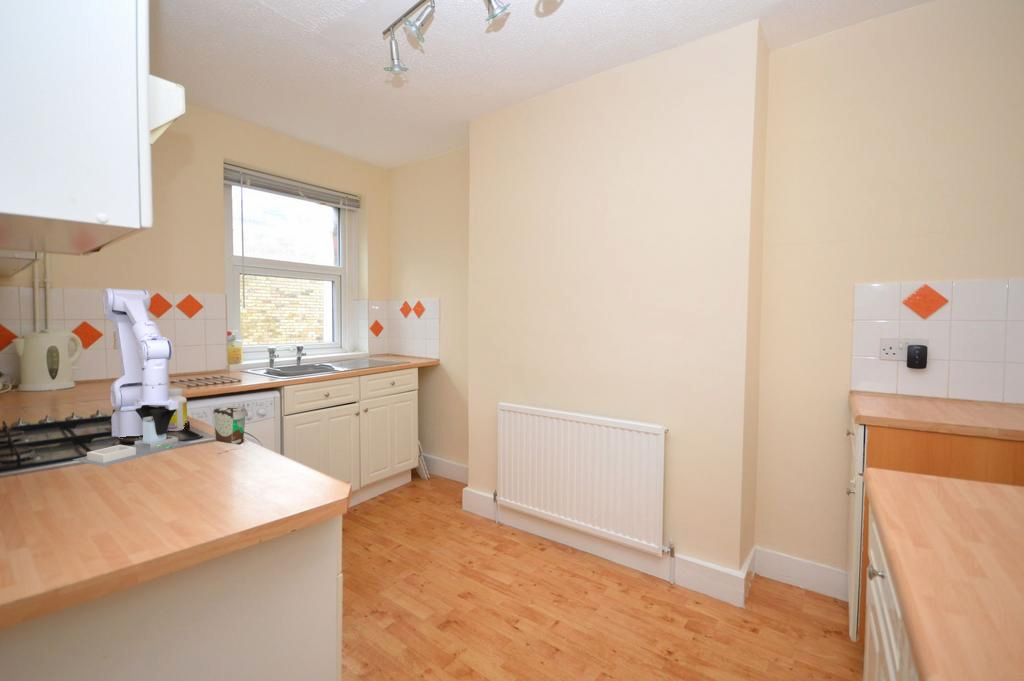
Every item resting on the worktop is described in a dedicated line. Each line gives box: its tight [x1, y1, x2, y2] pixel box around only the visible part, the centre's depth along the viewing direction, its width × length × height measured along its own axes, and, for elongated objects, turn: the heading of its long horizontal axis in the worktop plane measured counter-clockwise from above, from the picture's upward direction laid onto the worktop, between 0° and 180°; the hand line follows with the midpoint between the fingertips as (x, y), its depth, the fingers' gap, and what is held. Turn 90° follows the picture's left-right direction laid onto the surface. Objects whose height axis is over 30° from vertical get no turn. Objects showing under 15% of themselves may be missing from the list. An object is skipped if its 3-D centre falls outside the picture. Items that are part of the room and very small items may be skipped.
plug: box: [142, 416, 167, 443], centre depth 122 cm, size 3×4×8 cm
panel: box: [72, 440, 193, 467], centre depth 118 cm, size 12×21×1 cm, turn 161°
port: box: [134, 434, 179, 451], centre depth 122 cm, size 8×7×2 cm
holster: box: [86, 444, 136, 463], centre depth 113 cm, size 6×7×2 cm
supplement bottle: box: [168, 388, 188, 432], centre depth 142 cm, size 7×7×13 cm
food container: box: [212, 405, 249, 446], centre depth 131 cm, size 12×6×10 cm, turn 58°
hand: (156, 433), depth 123 cm, fingers open, 3 cm apart
